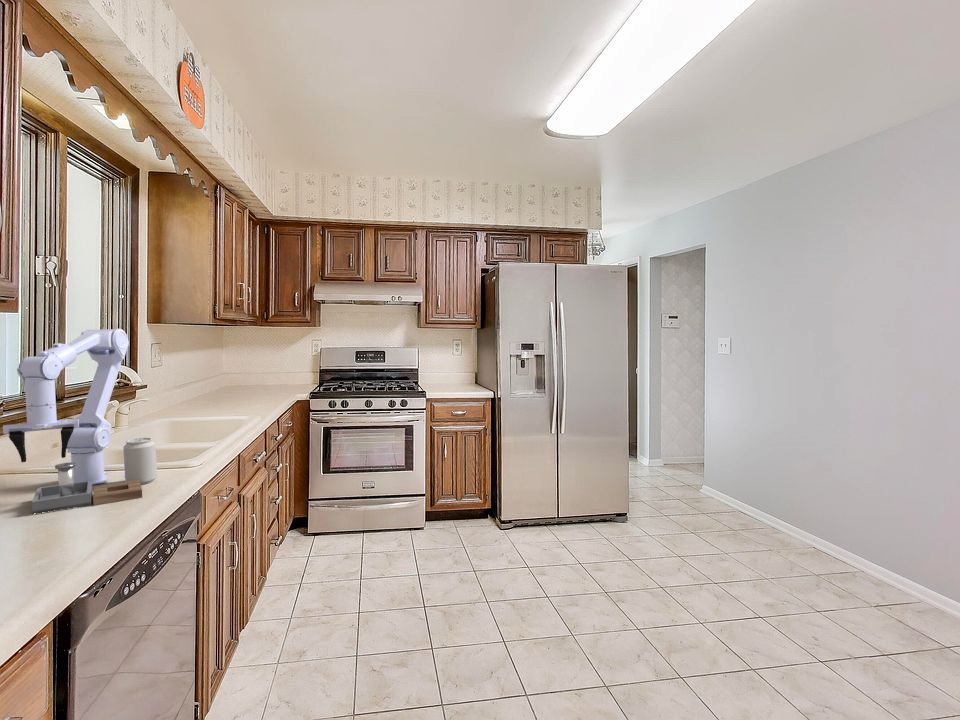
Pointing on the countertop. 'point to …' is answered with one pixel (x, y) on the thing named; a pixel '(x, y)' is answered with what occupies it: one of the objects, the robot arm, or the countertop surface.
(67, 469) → the pin
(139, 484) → the hitch block
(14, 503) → the countertop surface
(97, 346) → the robot arm
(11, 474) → the countertop surface
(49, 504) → the tray
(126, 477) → the can
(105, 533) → the countertop surface
